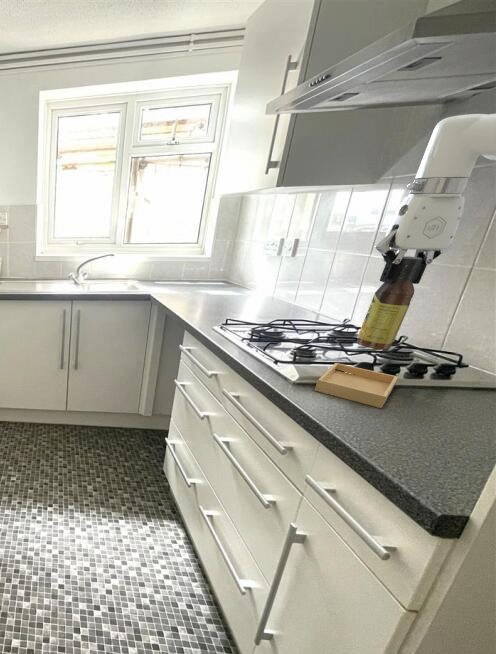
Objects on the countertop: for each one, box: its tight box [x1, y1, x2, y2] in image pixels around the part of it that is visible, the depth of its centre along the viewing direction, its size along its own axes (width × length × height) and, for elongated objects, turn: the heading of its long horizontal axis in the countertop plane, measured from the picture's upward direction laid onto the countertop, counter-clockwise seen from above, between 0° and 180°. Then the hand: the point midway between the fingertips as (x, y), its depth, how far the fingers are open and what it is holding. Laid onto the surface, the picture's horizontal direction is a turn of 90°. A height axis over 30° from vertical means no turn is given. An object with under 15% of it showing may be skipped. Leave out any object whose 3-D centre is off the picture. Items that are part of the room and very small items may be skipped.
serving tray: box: [314, 362, 399, 409], centre depth 99 cm, size 17×12×3 cm
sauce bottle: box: [356, 255, 422, 351], centre depth 91 cm, size 6×6×20 cm
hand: (399, 281), depth 89 cm, fingers closed on sauce bottle, 4 cm apart
